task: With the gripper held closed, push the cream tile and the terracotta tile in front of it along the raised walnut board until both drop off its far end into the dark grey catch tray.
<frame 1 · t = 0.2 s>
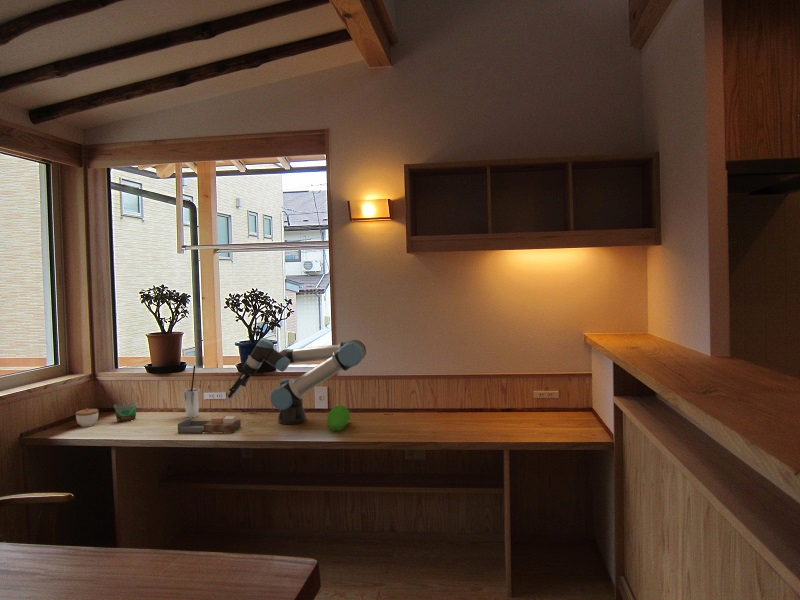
hand: (230, 398, 280), 15 cm above the table, tool tilted 35°, fingers open, 13 cm apart
utensil holder: (193, 416, 305), on the table
lidded jar: (87, 425, 290), on the table
terracotta tile: (218, 422, 276), point 4 cm above the table, touching walnut board
catch tray: (196, 429, 278), on the table
green oblong piece: (336, 430, 273), on the table
walnut board: (222, 429, 276), on the table
food container: (127, 421, 298), on the table
cream tile: (229, 422, 276), point 4 cm above the table, touching walnut board
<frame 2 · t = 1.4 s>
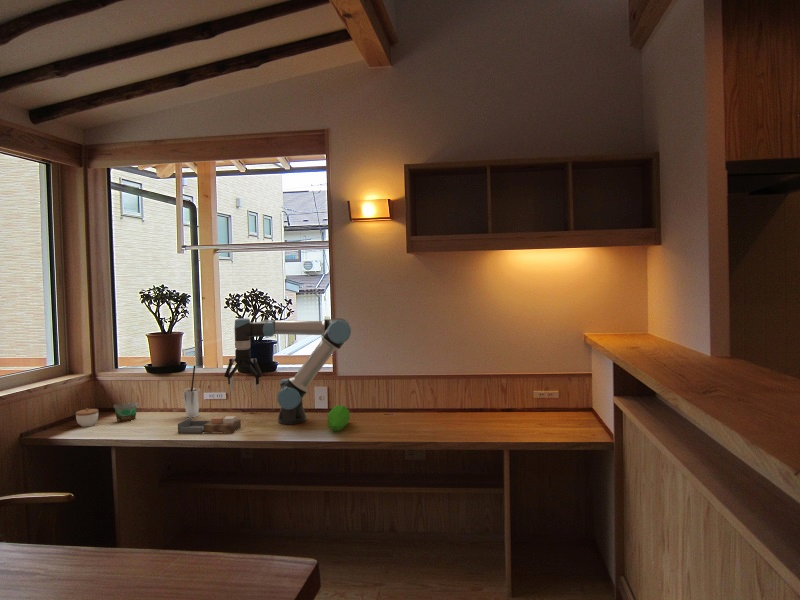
hand: (243, 390, 275), 20 cm above the table, tool pointing down, fingers open, 12 cm apart
nothing on the table moved.
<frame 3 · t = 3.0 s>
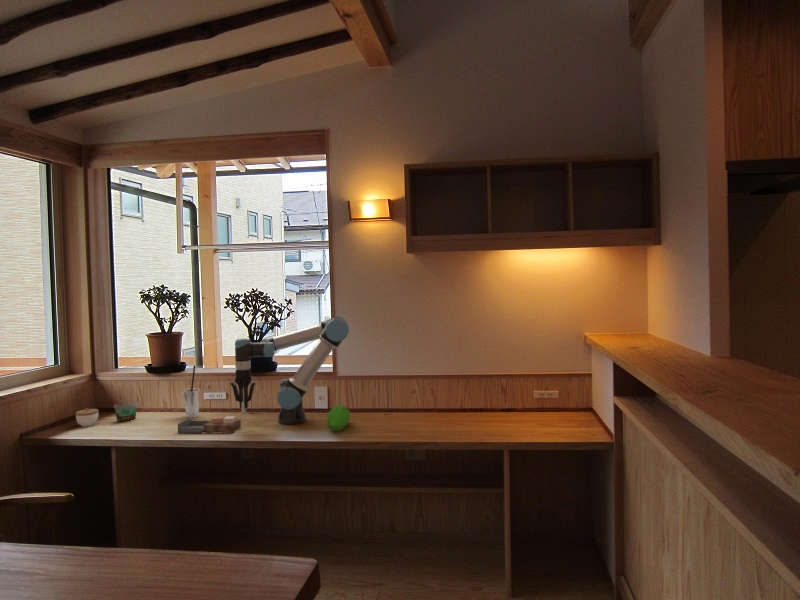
hand: (243, 414, 275), 8 cm above the table, tool pointing down, fingers closed
nothing on the table moved.
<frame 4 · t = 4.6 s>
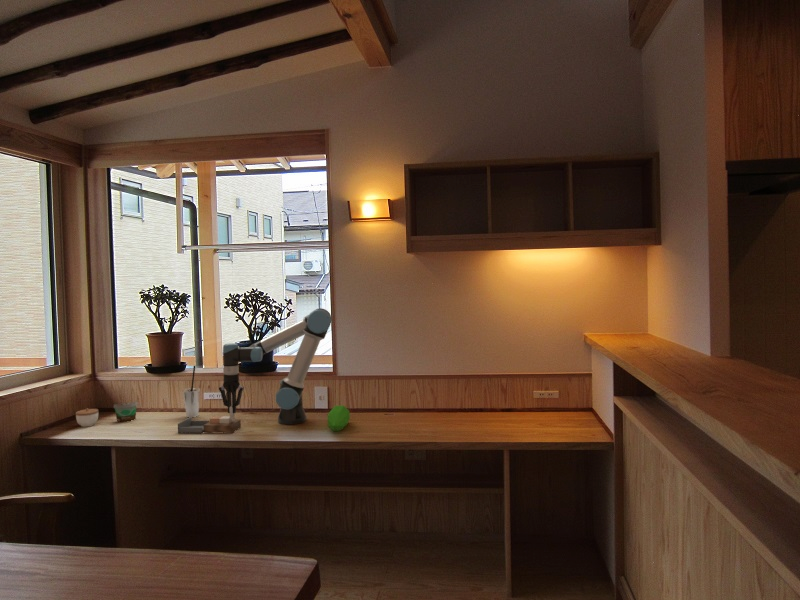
hand: (232, 419, 276), 6 cm above the table, tool pointing down, fingers closed
cream tile: (226, 422, 276), point 4 cm above the table, touching gripper
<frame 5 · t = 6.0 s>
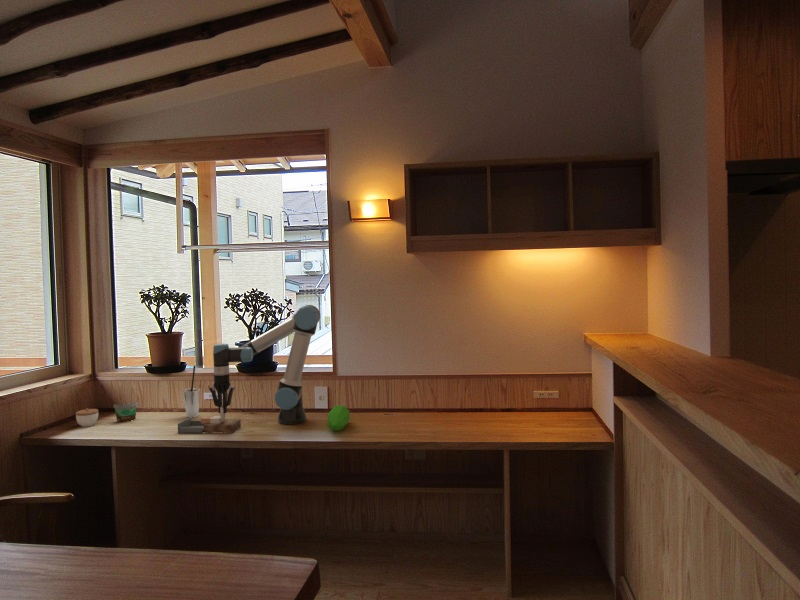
hand: (223, 419, 276), 5 cm above the table, tool pointing down, fingers closed
terracotta tile: (207, 422, 277), point 4 cm above the table
cream tile: (217, 422, 277), point 4 cm above the table, touching gripper, walnut board
everything else where it was.
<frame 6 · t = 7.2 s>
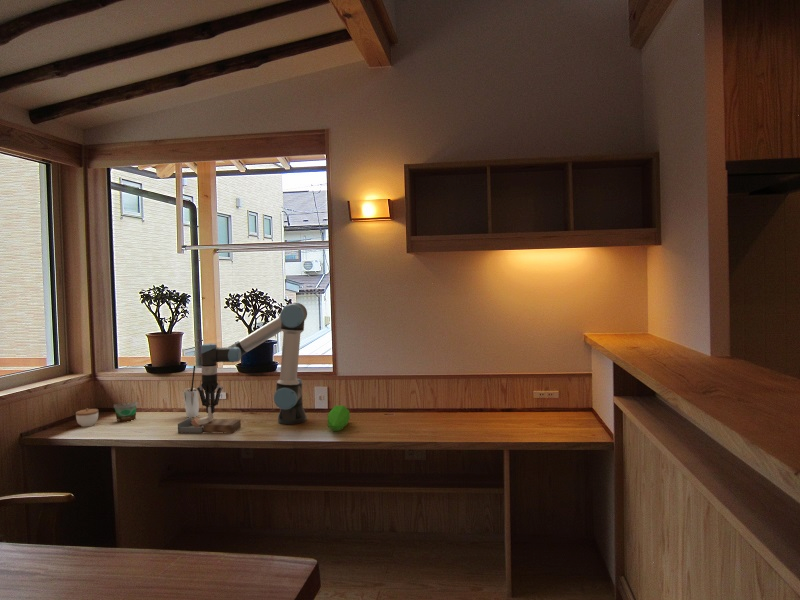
hand: (210, 419, 277), 6 cm above the table, tool pointing down, fingers closed
terracotta tile: (199, 421, 277), point 4 cm above the table, tilted 130°, touching catch tray
cream tile: (205, 422, 277), point 4 cm above the table, tilted 11°, touching gripper
everything else where it was.
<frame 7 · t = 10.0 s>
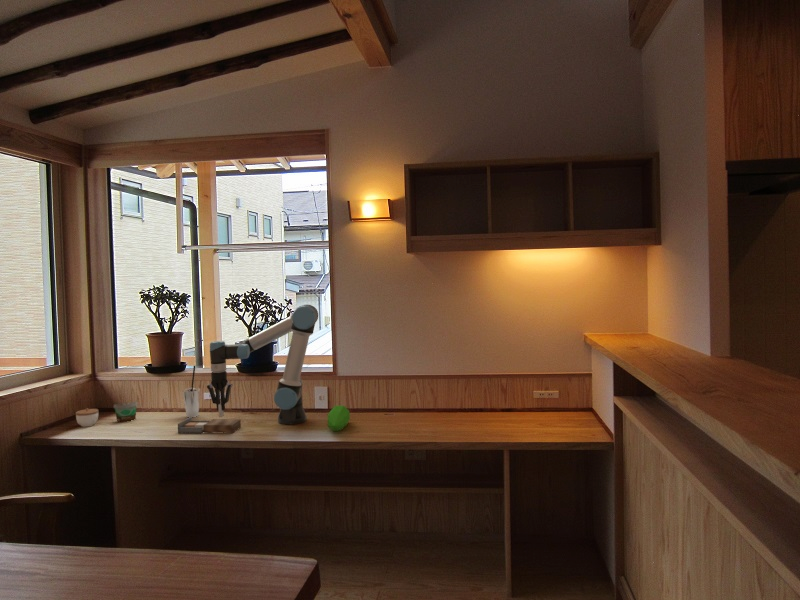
hand: (221, 416, 277), 7 cm above the table, tool pointing down, fingers closed
terracotta tile: (191, 423, 278), point 3 cm above the table, tilted 180°, touching catch tray
cream tile: (201, 428, 277), point 1 cm above the table, touching catch tray
everything else where it was.
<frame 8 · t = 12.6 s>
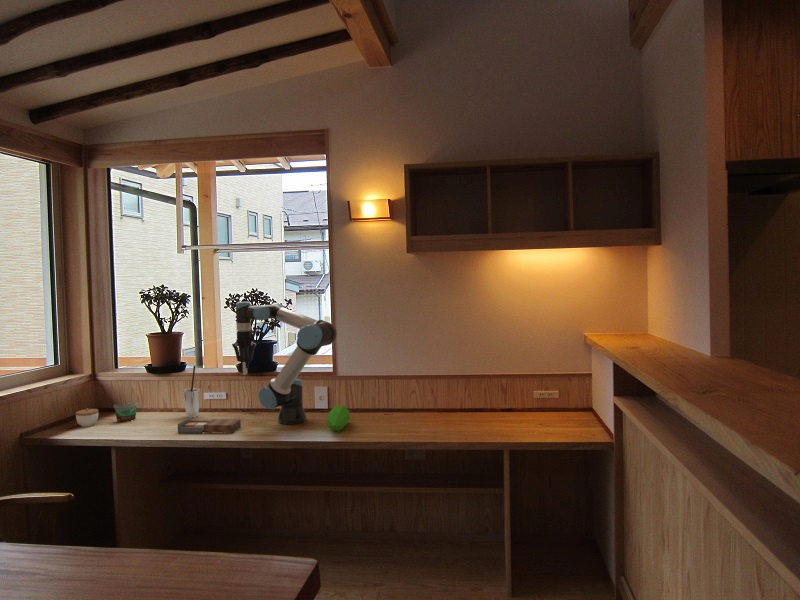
hand: (245, 374, 289), 26 cm above the table, tool pointing down, fingers closed
nothing on the table moved.
at the end: cream tile inside the target area (4.0 cm from its centre), point 0.6 cm above the table; terracotta tile inside the target area (1.6 cm from its centre), point 3.1 cm above the table; cream tile touching catch tray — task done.
